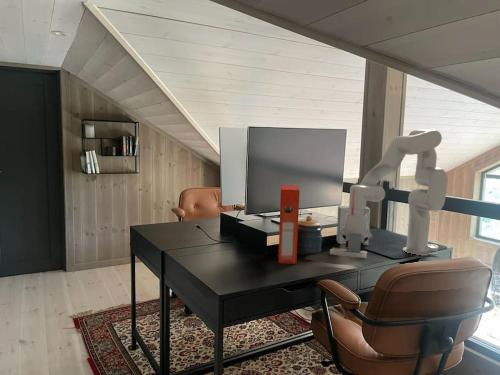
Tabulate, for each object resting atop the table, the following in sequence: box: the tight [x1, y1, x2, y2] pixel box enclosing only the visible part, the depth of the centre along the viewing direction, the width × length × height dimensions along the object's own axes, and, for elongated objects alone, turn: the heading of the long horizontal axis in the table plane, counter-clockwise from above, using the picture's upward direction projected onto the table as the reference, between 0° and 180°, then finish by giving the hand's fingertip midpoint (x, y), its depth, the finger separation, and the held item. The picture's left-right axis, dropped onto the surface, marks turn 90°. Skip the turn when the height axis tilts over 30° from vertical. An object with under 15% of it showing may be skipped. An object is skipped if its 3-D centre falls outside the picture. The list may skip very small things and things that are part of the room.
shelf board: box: [329, 247, 368, 259], centre depth 183 cm, size 16×12×4 cm
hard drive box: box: [336, 205, 372, 246], centre depth 202 cm, size 16×8×20 cm, turn 84°
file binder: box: [278, 184, 300, 265], centre depth 176 cm, size 8×17×32 cm, turn 176°
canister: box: [297, 215, 323, 256], centre depth 187 cm, size 13×13×18 cm
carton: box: [348, 234, 361, 253], centre depth 184 cm, size 5×7×9 cm
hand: (354, 249), depth 184 cm, fingers closed on carton, 5 cm apart
